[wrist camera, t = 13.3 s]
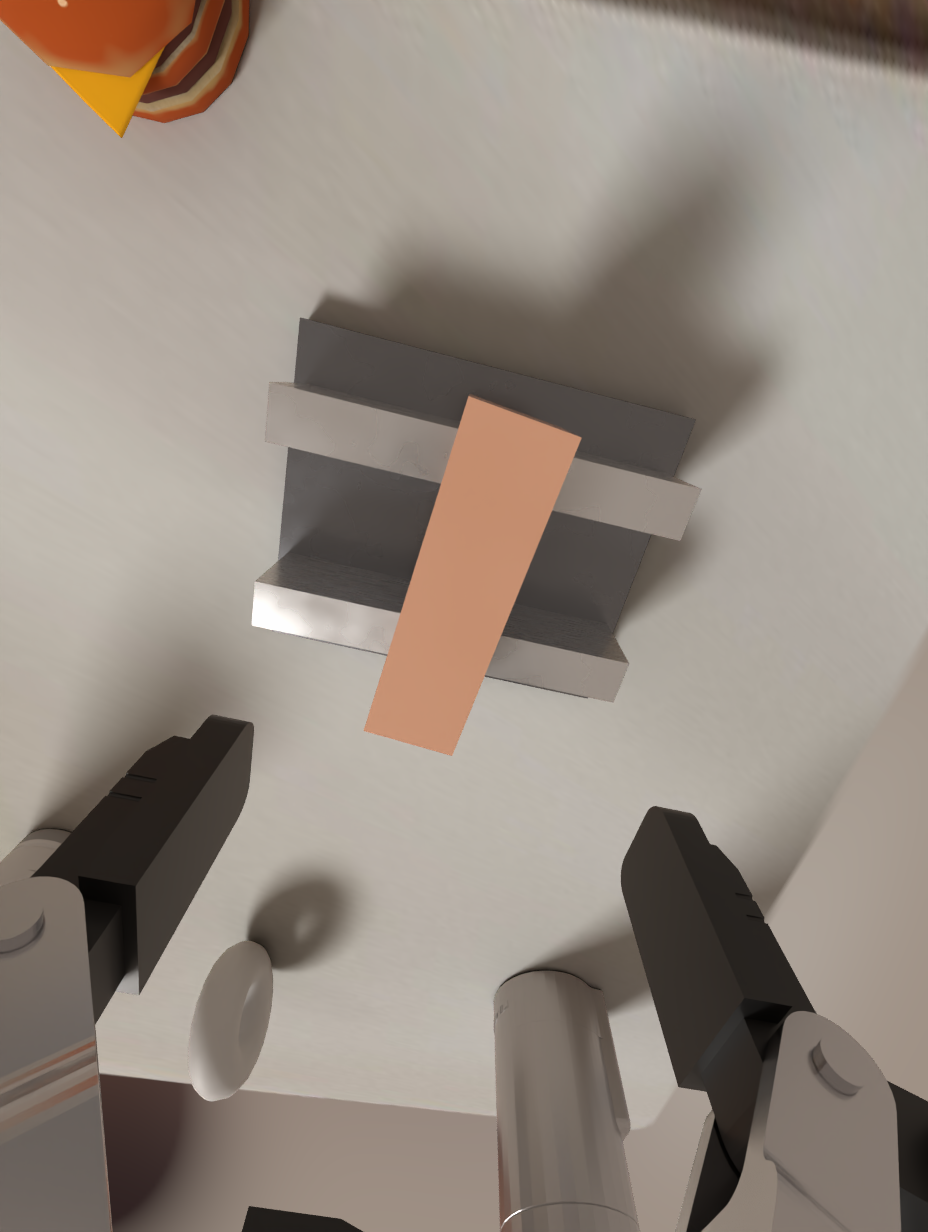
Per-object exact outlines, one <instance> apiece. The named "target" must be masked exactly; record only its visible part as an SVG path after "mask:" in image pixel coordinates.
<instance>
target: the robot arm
mask: <svg viewBox="0 0 928 1232" xmlns="http://www.w3.org/2000/svg"><path fill="white" fill-rule="evenodd" d="M253 736H254V726H253V723H251V722H247V721H242V720H237V719H232V718H227V717H222V716H217V715H211V716H209V717H208V718H207V719H206V720H205V722H204V723H203V724H202V725H201V727H200V728H199V729H198V730H197V731H196V733H195V734H194V735H193V736H192V738H191V739H188V738H183V737H178V736H173V737H171V738H169V739H167V740H166V741H164V742H162V743H160V744H159V745H157V746H155V747H153V748H151V749H150V750H148V751H146V752H145V753H144V754H143V755H142V757H141V758H140V759H139V760H138V761H137V762H136V763H135V764H134V765H133V766H132V767H131V769H130V770H129V771H128V772H127V773H126V776H125V778H123V777H122V778H121V779H120V781H119V782H118V783H117V784H116V785H115V786H114V787H113V788H112V789H111V790H110V793H109V795H108V796H105V797H104V798H103V799H102V800H101V801H100V802H99V804H98V805H97V806H96V807H95V808H94V809H93V810H92V811H91V812H90V813H89V814H88V816H87V817H86V818H85V819H84V820H83V821H82V822H81V823H80V824H79V825H78V826H77V828H76V829H75V830H74V831H73V832H72V833H71V834H70V835H69V836H68V837H67V838H66V840H65V841H64V842H63V843H62V844H61V845H60V846H59V847H58V848H57V849H56V851H55V852H54V853H53V854H52V855H51V856H50V857H49V858H48V859H47V860H46V861H45V863H44V864H43V865H42V866H41V867H40V868H39V869H38V870H37V871H36V872H35V873H34V874H33V875H32V876H31V877H30V878H25V879H21V880H17V881H13V882H11V883H8V884H5V885H2V886H0V1232H112V1222H111V1210H110V1199H109V1187H108V1175H107V1163H106V1152H105V1139H104V1127H103V1115H102V1103H101V1090H100V1079H99V1066H98V1054H97V1042H96V1030H95V1024H96V1022H97V1021H98V1019H99V1017H100V1016H101V1014H102V1013H103V1011H104V1009H105V1008H106V1006H107V1004H108V1003H109V1001H110V999H111V998H112V996H113V994H114V993H115V991H116V992H122V993H128V994H134V995H140V993H141V991H142V989H143V988H144V986H145V984H146V982H147V980H148V979H149V977H150V975H151V973H152V971H153V970H154V968H155V966H156V964H157V962H158V961H159V959H160V957H161V955H162V954H163V952H164V950H165V948H166V946H167V945H168V943H169V941H170V939H171V937H172V936H173V934H174V932H175V930H176V928H177V927H178V925H179V923H180V921H181V919H182V918H183V916H184V914H185V912H186V911H187V909H188V907H189V905H190V903H191V902H192V900H193V898H194V896H195V894H196V893H197V891H198V889H199V887H200V885H201V884H202V882H203V880H204V878H205V877H206V875H207V873H208V871H209V869H210V868H211V866H212V864H213V862H214V860H215V859H216V857H217V855H218V853H219V851H220V850H221V848H222V846H223V844H224V842H225V841H226V839H227V837H228V835H229V834H230V832H231V830H232V828H233V826H234V825H235V823H236V821H237V819H238V817H239V815H240V813H241V811H242V809H243V806H244V803H245V800H246V797H247V793H248V789H249V783H250V772H251V760H252V748H253ZM621 887H622V892H623V896H624V899H625V903H626V906H627V910H628V913H629V917H630V920H631V924H632V927H633V931H634V934H635V938H636V941H637V945H638V948H639V951H640V955H641V958H642V962H643V965H644V969H645V972H646V976H647V979H648V983H649V986H650V990H651V993H652V997H653V1000H654V1004H655V1007H656V1011H657V1014H658V1017H659V1021H660V1024H661V1028H662V1031H663V1035H664V1038H665V1042H666V1045H667V1049H668V1052H669V1056H670V1059H671V1063H672V1066H673V1070H674V1073H675V1077H676V1080H677V1083H678V1087H681V1088H688V1089H694V1090H700V1091H706V1092H707V1094H708V1097H709V1100H710V1103H711V1106H712V1110H711V1112H710V1113H709V1114H708V1116H707V1117H706V1120H705V1122H704V1126H703V1129H702V1133H701V1137H700V1141H699V1144H698V1148H697V1152H696V1156H695V1160H694V1163H693V1167H692V1170H691V1174H690V1178H689V1182H688V1185H687V1189H686V1193H685V1197H684V1201H683V1204H682V1208H681V1212H680V1216H679V1219H678V1223H677V1227H676V1230H675V1232H928V1102H927V1101H926V1100H924V1099H922V1098H920V1097H918V1096H916V1095H914V1094H912V1093H910V1092H908V1091H906V1090H904V1089H902V1088H900V1087H898V1086H896V1085H894V1084H892V1083H890V1082H888V1081H887V1080H886V1079H885V1077H884V1075H883V1073H882V1072H881V1070H880V1069H879V1067H878V1066H877V1064H876V1063H875V1061H874V1060H873V1059H872V1058H871V1056H870V1055H869V1054H868V1053H867V1051H866V1050H865V1049H864V1048H863V1047H862V1046H861V1045H860V1044H859V1043H858V1042H857V1041H856V1040H855V1039H854V1038H853V1037H852V1036H851V1035H849V1034H848V1033H847V1032H846V1031H845V1030H843V1029H842V1028H841V1027H839V1026H838V1025H836V1024H835V1023H833V1022H832V1021H830V1020H828V1019H826V1018H825V1017H823V1016H820V1015H818V1014H816V1012H815V1010H814V1009H813V1007H812V1005H811V1003H810V1001H809V999H808V998H807V996H806V994H805V992H804V990H803V988H802V986H801V985H800V983H799V981H798V979H797V977H796V975H795V973H794V972H793V970H792V968H791V966H790V964H789V962H788V961H787V959H786V957H785V955H784V953H783V952H782V950H781V948H780V946H779V944H778V942H777V941H776V938H775V937H774V935H773V933H772V931H771V929H770V927H769V926H768V924H766V923H764V916H763V914H762V913H761V911H760V909H759V907H758V905H757V903H756V902H755V901H753V900H752V894H751V892H750V890H749V889H748V887H747V885H746V883H745V881H744V879H743V878H742V876H741V874H740V872H739V870H738V869H737V868H736V867H735V866H734V865H733V863H732V862H731V861H730V860H729V859H728V858H727V857H726V856H725V855H724V854H723V852H722V851H721V850H720V849H719V848H718V847H717V846H716V845H711V844H710V843H709V842H708V840H707V838H706V836H705V834H704V832H703V830H702V828H701V826H700V824H699V822H698V820H697V819H696V817H695V816H694V815H693V814H691V813H687V812H682V811H677V810H672V809H667V808H662V807H657V806H653V807H651V808H650V809H649V810H648V812H647V813H646V815H645V817H644V819H643V821H642V823H641V825H640V827H639V829H638V831H637V834H636V836H635V838H634V840H633V842H632V844H631V846H630V848H629V850H628V852H627V854H626V856H625V858H624V861H623V864H622V870H621ZM494 1034H495V1071H496V1106H497V1142H498V1174H499V1176H498V1177H499V1210H500V1211H499V1212H500V1232H640V1229H639V1224H638V1219H637V1214H636V1208H635V1204H634V1198H633V1193H632V1187H631V1182H630V1177H629V1172H628V1168H627V1163H626V1157H625V1152H624V1147H623V1140H624V1139H625V1137H626V1136H627V1135H628V1133H629V1131H630V1119H629V1114H628V1109H627V1105H626V1100H625V1095H624V1090H623V1086H622V1081H621V1076H620V1071H619V1067H618V1062H617V1057H616V1052H615V1047H614V1043H613V1038H612V1033H611V1028H610V1024H609V1019H608V1014H607V1009H606V1004H605V1000H604V995H603V991H602V990H597V989H593V988H591V987H590V986H588V985H587V984H586V983H585V982H584V981H582V980H581V979H579V978H577V977H575V976H572V975H570V974H567V973H562V972H557V971H534V972H529V973H525V974H521V975H519V976H516V977H514V978H512V979H510V980H509V981H507V982H505V983H504V984H503V985H502V986H501V987H500V988H499V989H498V991H497V993H496V994H495V998H494ZM242 1232H363V1231H361V1230H359V1229H357V1228H356V1227H354V1226H352V1225H351V1224H349V1223H347V1222H345V1221H344V1220H342V1219H338V1218H331V1217H323V1216H316V1215H308V1214H302V1213H295V1212H287V1211H280V1210H273V1209H266V1208H259V1207H251V1206H249V1208H248V1211H247V1215H246V1219H245V1222H244V1226H243V1229H242Z"/></svg>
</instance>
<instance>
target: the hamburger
mask: <svg viewBox="0 0 928 1232" xmlns="http://www.w3.org/2000/svg"><path fill="white" fill-rule="evenodd" d="M0 20H1V21H2V22H3V23H4V24H5V25H6V26H7V27H8V28H9V29H10V30H11V31H12V32H13V33H15V34H16V35H17V36H18V37H19V38H20V39H21V40H22V41H23V42H24V43H25V44H26V45H27V46H28V47H29V48H30V49H31V50H32V51H33V52H34V53H35V54H36V55H37V56H39V57H40V58H41V59H42V60H43V61H44V62H45V63H46V64H47V65H48V66H51V67H52V68H53V69H54V70H55V71H56V73H57V74H58V75H59V76H60V77H61V78H62V79H63V80H64V81H65V82H66V83H67V84H68V85H69V86H70V87H71V88H72V89H73V90H74V91H75V92H76V93H77V94H78V95H79V96H80V97H81V98H82V99H83V100H84V102H85V103H86V104H87V105H88V106H89V107H91V108H92V109H93V110H94V111H95V112H96V113H97V114H98V115H99V116H100V117H101V118H102V119H103V120H104V121H105V122H106V123H107V124H108V125H109V126H110V127H111V128H112V129H113V130H114V131H115V132H116V133H117V134H118V135H119V136H120V137H121V138H122V137H123V135H124V133H125V131H126V128H127V126H128V124H129V122H130V120H131V118H132V116H137V117H141V118H145V119H150V120H154V121H158V122H162V123H166V122H170V121H173V120H177V119H181V118H184V117H188V116H191V115H195V114H198V113H202V112H204V111H205V110H206V109H207V108H208V107H209V106H210V105H211V104H212V103H213V102H214V101H215V100H216V99H217V98H218V97H219V96H220V94H221V93H222V92H223V91H224V90H225V89H226V88H227V87H228V86H229V85H230V84H231V83H232V80H233V77H234V74H235V72H236V69H237V66H238V63H239V61H240V58H241V55H242V52H243V49H244V47H245V44H246V41H247V38H248V36H249V0H0Z"/></svg>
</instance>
